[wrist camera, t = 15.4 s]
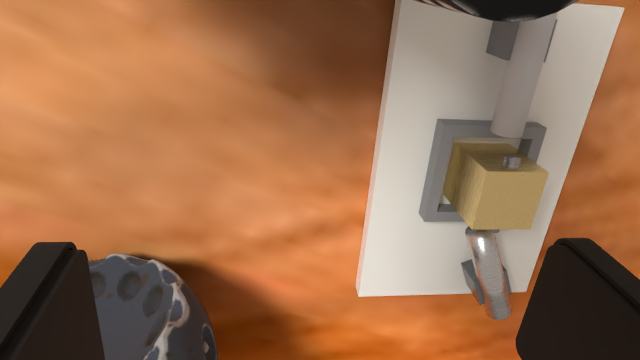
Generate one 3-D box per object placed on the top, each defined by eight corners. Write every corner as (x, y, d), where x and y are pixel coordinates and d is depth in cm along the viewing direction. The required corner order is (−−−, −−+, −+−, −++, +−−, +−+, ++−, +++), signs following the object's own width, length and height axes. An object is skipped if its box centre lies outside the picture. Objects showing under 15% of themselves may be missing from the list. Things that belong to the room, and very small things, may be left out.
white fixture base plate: (398, -19, 33) (423, -15, 28) (613, -1, 36) (671, 5, 31) (355, 286, 46) (368, 327, 41) (518, 282, 48) (549, 320, 43)
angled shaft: (448, 219, 42) (467, 245, 38) (481, 207, 41) (503, 231, 38) (469, 295, 46) (488, 324, 42) (499, 284, 46) (520, 312, 42)
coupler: (456, 134, 38) (489, 162, 33) (510, 135, 39) (552, 163, 33) (441, 200, 41) (469, 237, 35) (492, 201, 41) (527, 236, 36)
